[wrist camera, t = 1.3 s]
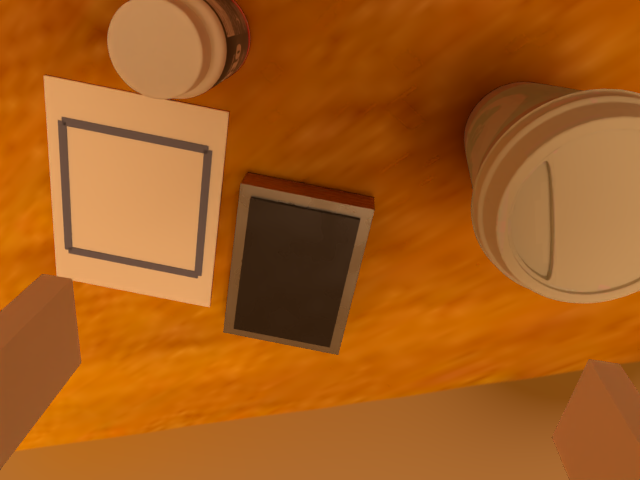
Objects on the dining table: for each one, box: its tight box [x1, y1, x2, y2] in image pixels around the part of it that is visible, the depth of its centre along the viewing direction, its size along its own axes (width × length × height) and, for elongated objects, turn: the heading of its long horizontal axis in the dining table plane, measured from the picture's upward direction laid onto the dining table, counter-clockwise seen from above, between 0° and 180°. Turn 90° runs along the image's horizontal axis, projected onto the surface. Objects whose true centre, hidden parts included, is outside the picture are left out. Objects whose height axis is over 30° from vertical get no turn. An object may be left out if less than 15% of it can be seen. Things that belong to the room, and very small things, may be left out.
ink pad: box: [223, 172, 375, 355], centre depth 33 cm, size 11×8×2 cm
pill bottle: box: [107, 0, 250, 99], centre depth 24 cm, size 5×5×8 cm
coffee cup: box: [464, 82, 640, 303], centre depth 24 cm, size 9×9×12 cm
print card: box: [44, 75, 229, 307], centre depth 33 cm, size 14×11×1 cm
